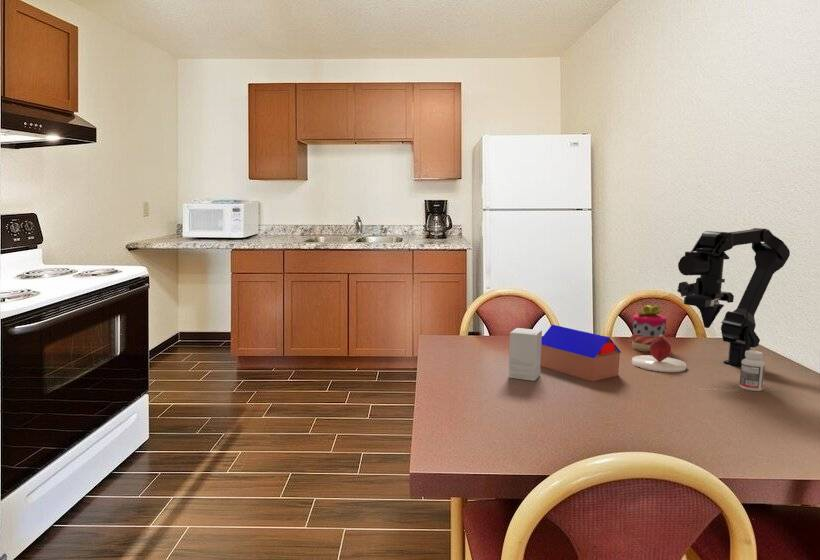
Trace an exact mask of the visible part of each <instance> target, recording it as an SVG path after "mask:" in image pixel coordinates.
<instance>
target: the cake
mask: <svg viewBox="0 0 820 560" xmlns="http://www.w3.org/2000/svg"><path fill="white" fill-rule="evenodd" d="M642 310H643V311H639V312H637V313H636V314H634V315H633V317H632V325H631V326H632V327H631V330H632V333H633V334H632V335H630V338H631V340H632V341H631V348H632V349H634V350H636V349H637V350H636V351H640V350H641V351H640V352H646V351H650V345H651V343H652V342H653V341H654V340H656V339H658V338H659V336H660V335H663V338H664V339H665V340H667V338H666V336H665V333H666V331H665V330H666V329H667V326H666V325H667V318H666V317H665V316H664V315H661V314H660V313H661V310H660V309H659V306H658V305H653V306H651V305H644V306H643V308H642Z"/></svg>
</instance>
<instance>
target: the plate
mask: <svg viewBox="0 0 820 560" xmlns="http://www.w3.org/2000/svg"><path fill="white" fill-rule="evenodd" d="M631 364H632V365H633V366H635V367H637V368H639V367H640V369H643V370H647V371H652V370H653V372H658V371H659V372H660V373H681V372H684V371H686V370H687V365H688V364H687V363H686V362H685V361H683V360H680V359H679V358H678V359H677V358H674V357H670V356H668V357H667V358H666V359H664V360H662V361H657V360H656V359H655V358H654V357H653V356H652V354H651V355H648V354H647V355H645V354H644V355H641V354H640V355H635V356H632V358H631ZM659 372H658V373H659Z"/></svg>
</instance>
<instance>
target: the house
mask: <svg viewBox="0 0 820 560" xmlns="http://www.w3.org/2000/svg"><path fill="white" fill-rule="evenodd" d="M621 353H622V351H621V350H620V349H619V348H618V346H617V345H616V344H615V342H614V341H613V340H612V339H611V337H610V336H604V335H601V334H596V333H592V332H588V331H583V330H582V331H581V330H579V329H573V328H569V327H566V326H565V327H564V326H561V325H556V324H551V325H550V327H549V328H548V329H547V330H546V332H545V333H544V334H543V335H542V343H541V366H540V367H542V368H543V367H544V368H547V369H548V370H549V369H550V370H553V371H557V372H561V373H563V374H566V375H568V376H573V377H576V378H578V379H579V378H580V379H583V380H586V381H590V382H595V381H600V380H605V379H610V378H613V377H617V376H619V372H620V370H619V368H620V358H621V357H620V356H621Z"/></svg>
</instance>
